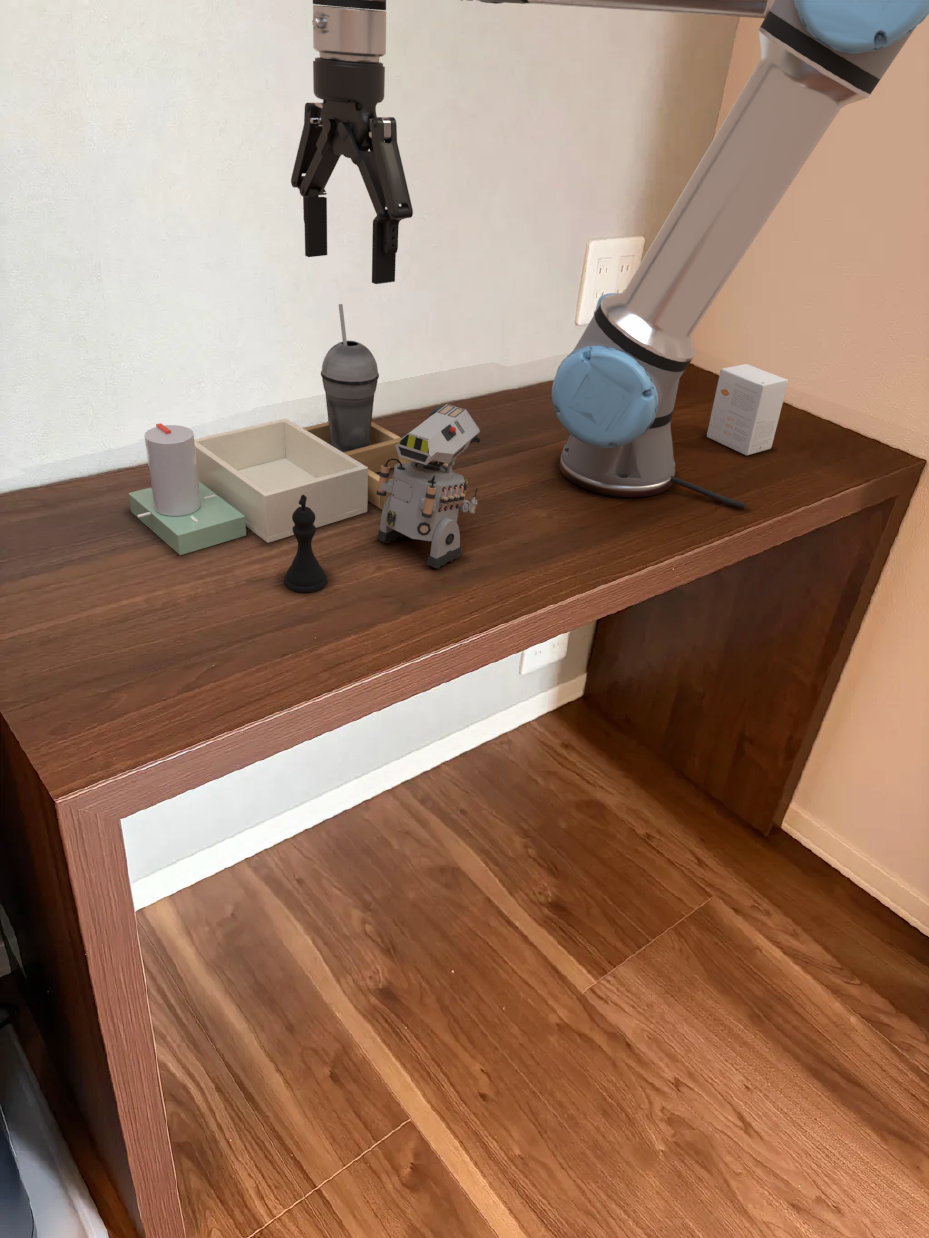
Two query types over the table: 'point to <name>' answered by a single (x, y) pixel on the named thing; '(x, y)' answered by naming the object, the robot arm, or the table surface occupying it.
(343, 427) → the beverage cup
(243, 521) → the green dial base plate
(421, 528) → the figurine
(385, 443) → the wooden compartment tray
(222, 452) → the cream open storage tray
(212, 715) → the table surface
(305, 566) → the chess piece
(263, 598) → the table surface
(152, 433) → the tap knob
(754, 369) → the small box
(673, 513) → the table surface
